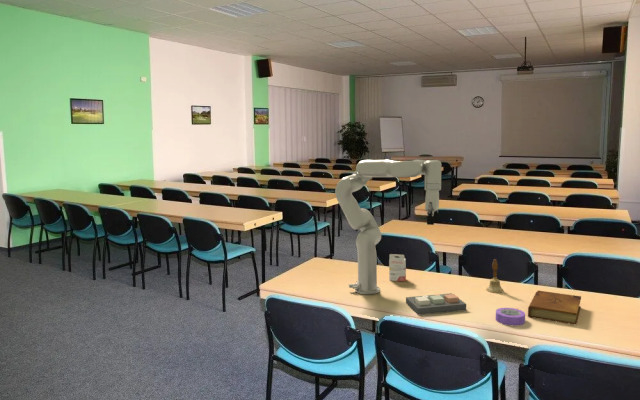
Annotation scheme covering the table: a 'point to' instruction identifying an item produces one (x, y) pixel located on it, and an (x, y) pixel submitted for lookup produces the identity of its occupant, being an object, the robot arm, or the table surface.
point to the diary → (555, 307)
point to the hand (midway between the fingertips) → (432, 222)
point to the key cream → (422, 301)
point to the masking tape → (510, 316)
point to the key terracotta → (451, 298)
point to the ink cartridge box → (397, 268)
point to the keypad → (435, 306)
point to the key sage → (436, 299)
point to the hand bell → (494, 280)
